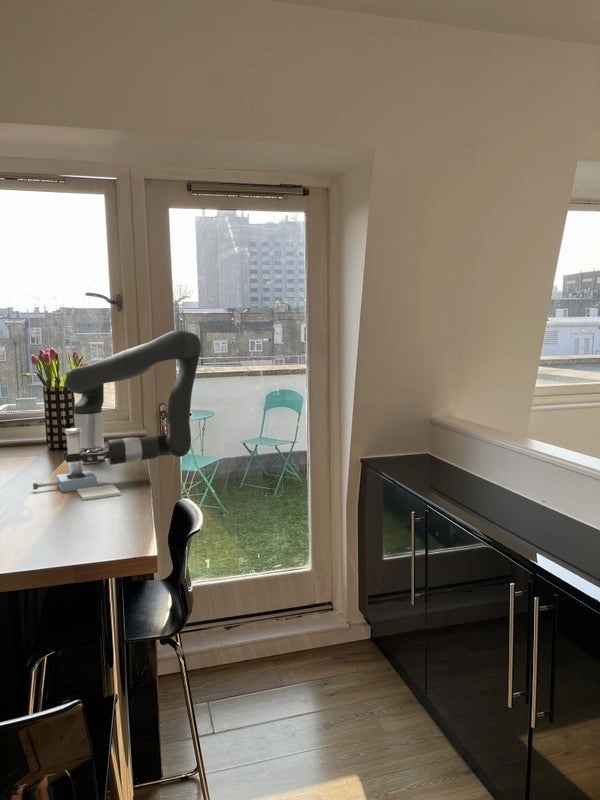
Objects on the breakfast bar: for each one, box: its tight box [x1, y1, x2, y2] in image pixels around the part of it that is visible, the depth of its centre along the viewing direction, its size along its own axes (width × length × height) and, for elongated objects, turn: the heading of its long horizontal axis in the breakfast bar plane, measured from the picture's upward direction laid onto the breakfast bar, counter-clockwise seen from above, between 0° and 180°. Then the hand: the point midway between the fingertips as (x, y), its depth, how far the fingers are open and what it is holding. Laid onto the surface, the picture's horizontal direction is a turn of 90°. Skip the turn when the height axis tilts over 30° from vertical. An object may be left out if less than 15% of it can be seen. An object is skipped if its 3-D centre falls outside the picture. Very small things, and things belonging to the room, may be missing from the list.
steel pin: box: [64, 427, 84, 479], centre depth 183 cm, size 5×5×17 cm
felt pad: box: [76, 484, 122, 501], centre depth 175 cm, size 10×10×1 cm
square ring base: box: [32, 470, 98, 493], centre depth 182 cm, size 10×17×3 cm, turn 119°
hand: (65, 457), depth 181 cm, fingers closed on steel pin, 3 cm apart
